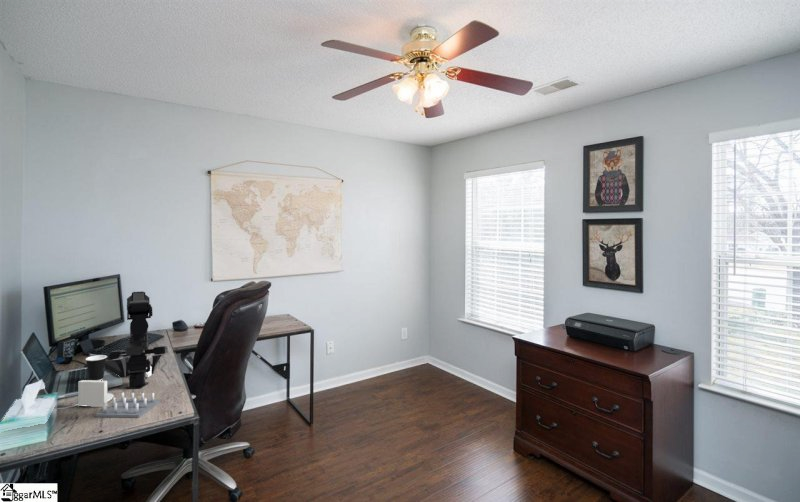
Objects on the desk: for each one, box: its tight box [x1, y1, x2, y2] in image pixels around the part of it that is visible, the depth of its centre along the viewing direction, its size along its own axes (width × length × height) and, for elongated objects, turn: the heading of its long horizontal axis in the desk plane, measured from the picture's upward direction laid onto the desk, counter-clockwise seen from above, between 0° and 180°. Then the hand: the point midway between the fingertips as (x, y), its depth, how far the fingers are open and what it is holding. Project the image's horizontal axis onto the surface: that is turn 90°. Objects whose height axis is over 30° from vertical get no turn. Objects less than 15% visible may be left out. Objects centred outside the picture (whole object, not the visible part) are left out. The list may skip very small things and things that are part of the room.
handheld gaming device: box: [147, 353, 154, 359], centre depth 223 cm, size 9×1×15 cm
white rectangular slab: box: [77, 379, 108, 408], centre depth 157 cm, size 2×10×10 cm, turn 92°
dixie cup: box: [85, 354, 108, 381], centre depth 183 cm, size 8×8×11 cm
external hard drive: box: [105, 356, 152, 378], centre depth 201 cm, size 14×23×3 cm, turn 53°
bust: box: [145, 365, 153, 378], centre depth 191 cm, size 12×8×11 cm
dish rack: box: [95, 392, 162, 419], centre depth 155 cm, size 14×16×4 cm
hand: (138, 375), depth 152 cm, fingers open, 9 cm apart
